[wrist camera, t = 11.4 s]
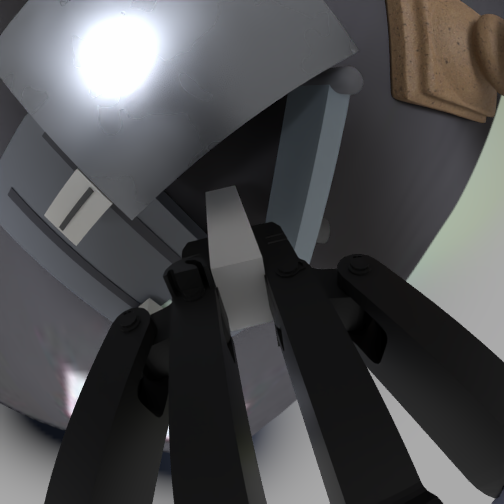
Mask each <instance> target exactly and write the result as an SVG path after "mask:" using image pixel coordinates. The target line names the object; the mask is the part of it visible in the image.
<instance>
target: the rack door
mask: <svg viewBox="0 0 504 504" xmlns="http://www.w3.org/2000/svg"><path fill="white" fill-rule="evenodd" d="M362 86H363V78H362V75H361V74H360V72H359V71H358V70H357V69H356V68H354V67H351V66H344V67H336V68H329V69H327V70H325V71H323V72H321V73H320V74H318V75H316V76H315V77H313V78H311V79H310V80H308V81H307V82H305V83H303V84H302V85H300V86H299V87H297V88H295V89H294V90H292V91H291V92H289V93H288V96H287V101H286V107H285V113H284V119H283V125H282V131H281V136H280V142H279V148H278V154H277V159H276V165H275V171H274V177H273V182H272V188H271V193H270V199H269V205H268V210H267V216H266V221H265V223H268V222H274V223H276V224H277V225H279V226H281V228H282V230H283V232H284V234H285V235H286V237H287V239H288V240H289V242H290V244H291V245H292V247H293V249H294V251H295V252H296V254H297V256H298V258H300V259H302V260H305V261H306V262H307V263H308V264H310V261H311V258H312V254H313V251H314V247H315V244H316V243H326V242H327V241H328V239H329V235H330V225H329V222H328V220H327V219H322V218H323V214H324V211H325V207H326V203H327V199H328V195H329V191H330V187H331V183H332V179H333V174H334V170H335V166H336V162H337V157H338V153H339V148H340V144H341V139H342V134H343V129H344V125H345V120H346V115H347V109H348V104H349V99H350V95H354V94H357V93H358V92H359V91H360V90H361V89H362Z"/></svg>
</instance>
